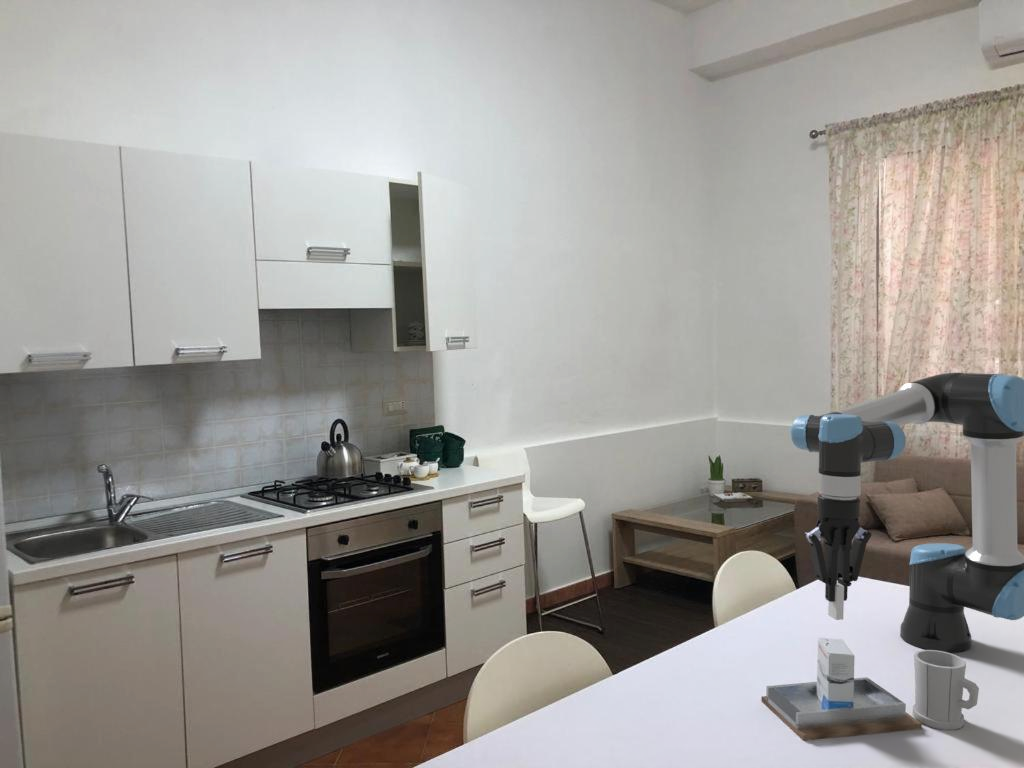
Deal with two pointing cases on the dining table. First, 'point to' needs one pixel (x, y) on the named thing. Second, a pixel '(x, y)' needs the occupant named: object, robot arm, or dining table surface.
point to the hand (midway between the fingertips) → (835, 617)
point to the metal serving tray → (809, 712)
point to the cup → (941, 689)
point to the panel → (850, 727)
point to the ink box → (835, 674)
